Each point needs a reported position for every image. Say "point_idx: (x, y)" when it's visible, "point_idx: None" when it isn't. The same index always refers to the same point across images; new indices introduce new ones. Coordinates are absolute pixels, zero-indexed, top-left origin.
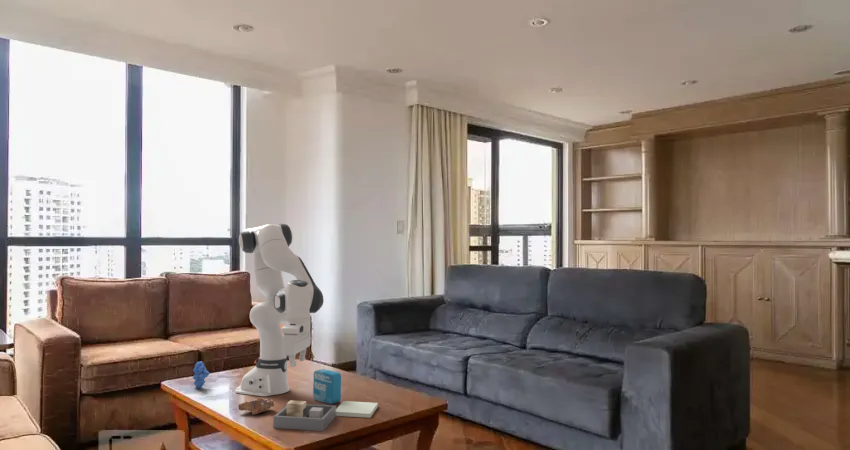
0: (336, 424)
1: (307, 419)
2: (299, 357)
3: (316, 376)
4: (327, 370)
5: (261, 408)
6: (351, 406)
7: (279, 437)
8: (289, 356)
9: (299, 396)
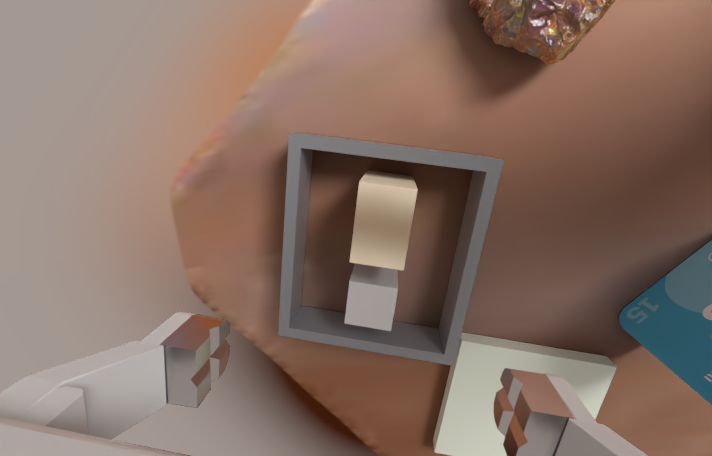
0: None
1: (282, 277)
2: (522, 402)
3: None
4: None
5: (487, 9)
6: None
7: (211, 182)
8: (8, 402)
9: None
